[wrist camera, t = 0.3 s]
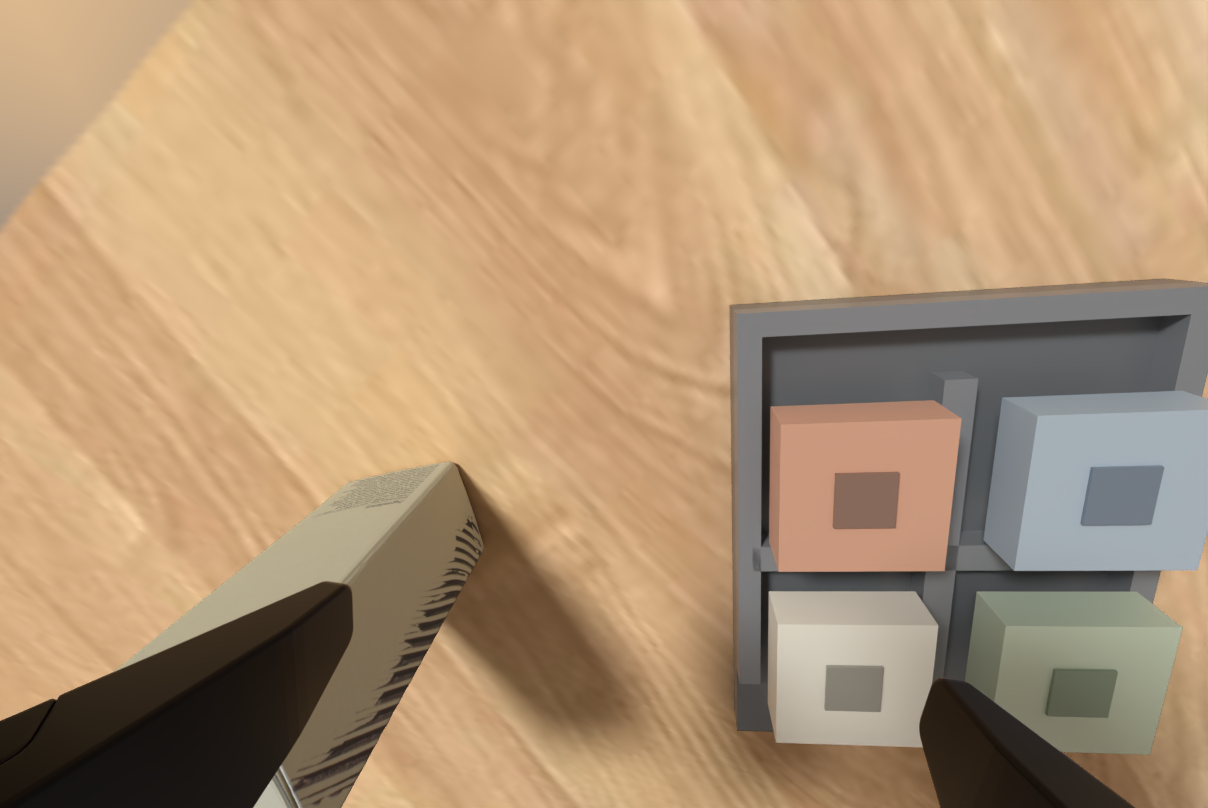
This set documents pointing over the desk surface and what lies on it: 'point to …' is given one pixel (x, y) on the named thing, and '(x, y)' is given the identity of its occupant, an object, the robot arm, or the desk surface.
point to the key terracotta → (862, 486)
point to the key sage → (1075, 665)
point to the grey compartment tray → (963, 386)
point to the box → (356, 611)
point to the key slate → (1100, 482)
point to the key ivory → (849, 666)
